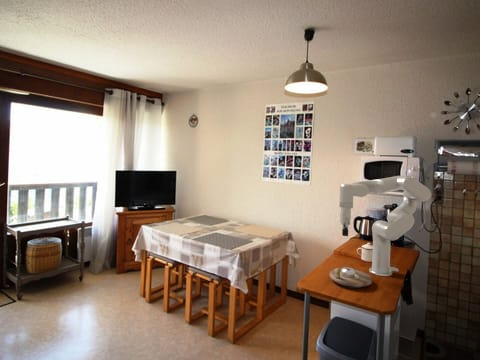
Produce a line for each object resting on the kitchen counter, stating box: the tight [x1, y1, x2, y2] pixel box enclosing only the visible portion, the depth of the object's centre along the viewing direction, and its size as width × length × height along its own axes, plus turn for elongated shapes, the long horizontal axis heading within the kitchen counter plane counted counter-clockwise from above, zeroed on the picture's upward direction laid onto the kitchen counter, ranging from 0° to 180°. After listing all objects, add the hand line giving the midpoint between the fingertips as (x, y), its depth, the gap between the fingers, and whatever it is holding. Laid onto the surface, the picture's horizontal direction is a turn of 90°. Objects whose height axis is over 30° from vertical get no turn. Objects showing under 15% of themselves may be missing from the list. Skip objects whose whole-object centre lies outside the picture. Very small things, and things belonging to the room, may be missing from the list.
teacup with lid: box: [356, 242, 373, 263], centre depth 201 cm, size 12×9×12 cm
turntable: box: [329, 267, 373, 288], centre depth 162 cm, size 22×22×6 cm
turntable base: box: [335, 282, 365, 289], centre depth 162 cm, size 16×16×2 cm
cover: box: [341, 267, 356, 278], centre depth 162 cm, size 7×7×4 cm
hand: (345, 235), depth 173 cm, fingers closed
